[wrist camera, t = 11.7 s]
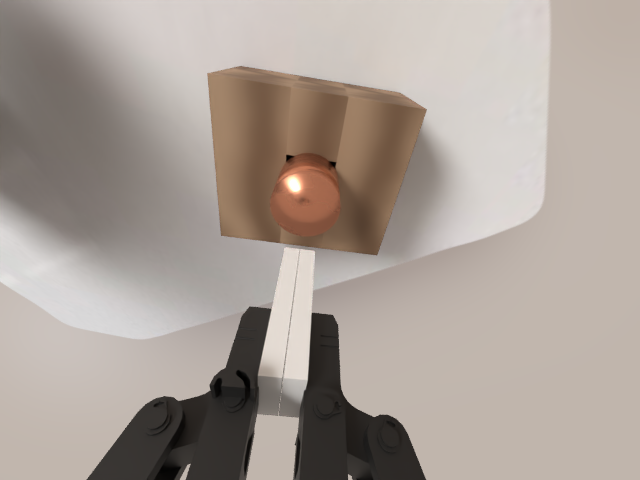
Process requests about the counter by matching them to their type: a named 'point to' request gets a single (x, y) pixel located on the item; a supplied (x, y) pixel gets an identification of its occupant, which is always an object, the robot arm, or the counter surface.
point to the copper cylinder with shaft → (306, 195)
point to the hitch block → (309, 151)
